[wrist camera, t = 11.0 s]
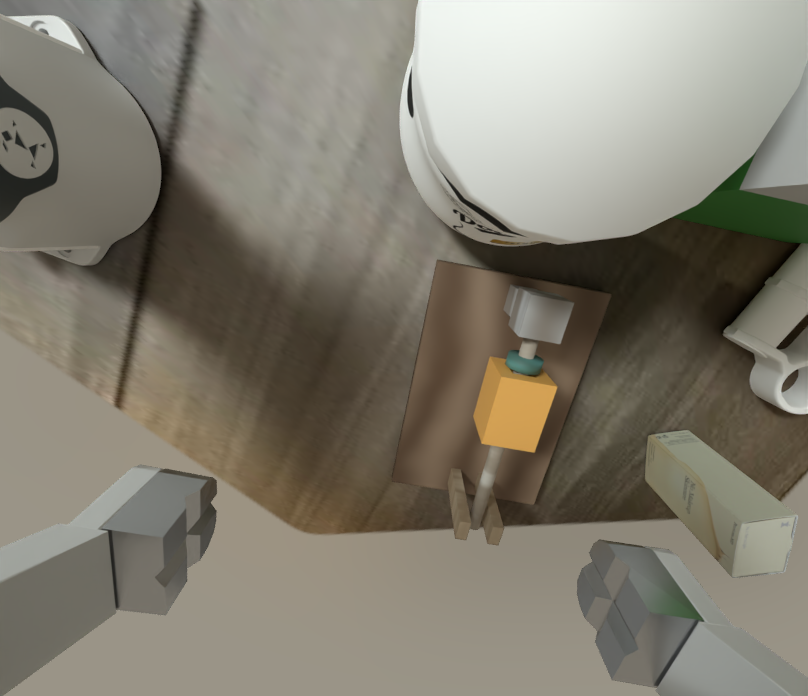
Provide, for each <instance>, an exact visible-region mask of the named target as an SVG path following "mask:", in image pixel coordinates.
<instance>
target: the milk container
mask: <svg viewBox="0 0 808 696" xmlns="http://www.w3.org/2000/svg"><path fill="white" fill-rule="evenodd" d="M807 61H808V0H418V5H417V9H416V23H415V43H414V49H413V53H412V56H411V58H410V61H409V64H408V68H407V71H406V75H405V79H404V84H403V88H402V95H401V102H400V137H401V143H402V149H403V154H404V158H405V162H406V165H407V168H408V171H409V174H410V176H411V179H412V181H413V183H414V185H415V187H416V189H417V191H418V192H419V194H420V196H421V197H422V199H423V200H424V201H425V203H426V204H427V205H428V207H429V208H430V209H431V210H432V211H433V212H434V214H435V215H436V216H437V217H439V218H440V219H441V220H442V221H443V222H444V223H446V224H447V225H448V226H449V227H451V228H452V229H454V230H456V231H457V232H459V233H461V234H463V235H465V236H467V237H469V238H471V239H474V240H476V241H479V242H483V243H486V244H491V245H497V246H526V245H533V244H539V243H542V242H548V243H553V244H557V245H561V244H571V243H579V242H587V241H594V240H602V239H610V238H618V237H626V236H631V235H635V234H638V233H640V232H642V231H644V230H646V229H648V228H650V227H652V226H654V225H657V224H659V223H661V222H663V221H665V220H667V219H669V218H671V217H673V216H675V215H677V214H679V213H681V212H684V211H686V210H688V209H690V208H692V207H694V206H696V205H698V204H699V203H700V202H701V201H703V200H704V199H705V198H706V197H707V196H708V195H709V194H710V193H711V192H713V191H714V190H715V189H716V188H717V187H718V186H719V185H720V184H722V183H723V182H724V181H725V180H726V179H727V178H728V177H729V176H730V175H732V174H733V173H734V172H735V171H736V170H737V169H738V168H739V167H741V166H742V165H743V164H744V163H745V162H746V161H747V160H748V159H749V158H751V157H752V156H753V155H754V153H755V152H756V150H757V149H758V147H759V146H760V144H761V143H762V141H763V140H764V138H765V137H766V135H767V134H768V132H769V131H770V129H771V128H772V126H773V125H774V123H775V122H776V120H777V119H778V117H779V116H780V114H781V112H782V111H783V109H784V108H785V106H786V105H787V103H788V102H789V100H790V99H791V97H792V96H793V94H794V93H795V91H796V90H797V88H798V87H799V84H800V81H801V78H802V75H803V73H804V70H805V67H806V64H807Z"/></svg>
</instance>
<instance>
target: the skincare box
mask: <svg viewBox="0 0 808 696" xmlns="http://www.w3.org/2000/svg"><path fill="white" fill-rule="evenodd" d="M645 481H646V482H647V483H648V484H649V485H650V486H651V488H652V489H653V490H654V491H655V492H656V493H657V494H658V495H659V496H660V498H661V499H662V500H663V501H664V502H665V503H666V504H667V505H668V507H669V508H670V509H671V510H672V511H673V512H674V513H675V514H676V516H677V517H678V518H679V519H680V520H681V521H682V522H683V523H684V524H685V526H686V527H688V529H689V530H690V531H691V532H692V533H693V534H694V535H695V537H696V538H697V539H698V540H699V541H700V542H701V543H702V544H703V546H704V547H705V548H706V549H707V550H708V551H709V552H710V553H711V554H712V556H713V557H714V558H715V559H716V560H717V561H718V562H719V563H720V565H721V566H722V567H723V568H724V569H725V570H726V571H727V572H728V574H729V575H730V576H731V577H733V578H738V577H748V576H758V575H767V574H777V573H783V572H785V570H786V566H787V562H788V558H789V554H790V551H791V547H792V542H793V537H794V533H795V529H796V524H797V520H798V515H796V514H795V513H794V512H793V511H792V510H790V509H789V508H788V507H786V506H785V505H784V504H783V503H781V502H780V501H779V500H777V499H776V498H775V497H773V496H772V495H771V494H770V493H768V492H767V491H766V490H764V489H763V488H762V487H760V486H759V485H758V484H757V483H755V482H754V481H753V480H752V479H750V478H749V477H748V476H746V475H745V474H744V473H743V472H741V471H740V470H739V469H737V468H736V467H735V466H734V465H732V464H731V463H730V462H728V461H727V460H726V459H724V458H723V457H722V456H721V455H719V454H718V453H717V452H715V451H714V450H713V449H712V448H710V447H709V446H708V445H706V444H705V443H704V442H703V441H701V440H700V439H699V438H697V437H696V436H695V435H694V434H692V433H691V432H690V431H688V430H683V431H675V432H667V433H660V434H654V435H649V436H648V442H647V452H646V466H645Z"/></svg>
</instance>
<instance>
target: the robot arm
mask: <svg viewBox="0 0 808 696" xmlns="http://www.w3.org/2000/svg"><path fill="white" fill-rule="evenodd" d="M48 33H49V35H47V34H48ZM160 185H161V162H160V155H159V150H158V146H157V142H156V139H155V136H154V134H153V131H152V129H151V126H150V124H149V122H148V120H147V118H146V116H145V114H144V113H143V111H142V109H141V108H140V106H139V105H138V104H137V102H136V101H135V99H134V98H133V97H132V96H131V94H130V93H129V92H128V91H127V90H126V89H125V88H124V87H123V86H122V85H121V84H120V83H119V82H118V81H117V80H116V79H115V78H114V77H113V76H112V75H111V74H109V73H108V72H107V71H106V70H105V69H104V68H103V67H102V66H101V64H100V63H99V62H98V61H97V59H96V57H95V55H94V54H93V52H92V50H91V48H90V47H89V45H88V43H87V41H86V40H85V38H84V37H83V35H82V34H81V32H80V31H79V30H78V29H77V27H76V26H75V25H74V24H72V23H71V22H69V21H67V20H64V19H62V18H60V17H57V16H52V15H45V16H9V17H6V16H4V15H2V14H0V251H5V252H24V251H42V252H45V253H47V254H50V255H53V256H56V257H58V258H61V259H64V260H66V261H69V262H72V263H74V264H77V265H83V266H85V265H95V264H97V263H98V262H99V261H100V260H101V259H102V258H103V257H104V255H105V254H106V252H107V251H108V249H109V248H110V246H111V245H112V244H113V243H114V242H116V241H118V240H119V239H122V238H124V237H126V236H128V235H129V234H131V233H133V232H134V231H136V230H137V229H138V228H139V227H140V226H141V225H142V224H143V223H144V222H145V221H146V220H147V219H148V217H149V216H150V214H151V213H152V211H153V209H154V207H155V204H156V202H157V199H158V196H159V191H160ZM216 483H217V482H216V480H215V479H214V478H213V477H207V476H202V475H196V474H191V473H186V472H180V471H175V470H170V469H161V468H156V467H151V466H145V465H138V466H135V467H133V468H131V469H130V470H129V471H128V472H127V473H125V474H124V475H123V476H122V477H121V478H120V479H119V480H118V481H116V482H115V483H114V484H113V485H112V486H111V487H110V488H109V489H107V490H106V491H105V492H104V493H103V494H102V495H101V496H100V497H98V498H97V499H96V500H95V501H94V502H93V503H92V504H91V505H89V506H88V507H87V508H86V509H85V510H84V511H83V512H82V513H80V514H79V515H78V516H77V517H76V518H75V519H74V520H73V521H71V522H70V523H69V524H68V525H65V524H57V525H54V526H52V527H49V528H47V529H45V530H42V531H40V532H37V533H35V534H32V535H30V536H28V537H25V538H23V539H20V540H18V541H15V542H13V543H11V544H8V545H6V546H3V547H1V548H0V696H3V695H4V694H6V693H7V692H8V691H10V690H11V689H13V688H14V687H15V686H17V685H18V684H19V683H21V682H22V681H23V680H25V679H26V678H28V677H29V676H30V675H32V674H33V673H34V672H36V671H37V670H39V669H40V668H41V667H43V666H44V665H46V664H47V663H48V662H50V661H51V660H52V659H54V658H55V657H56V656H58V655H59V654H61V653H62V652H63V651H65V650H66V649H67V648H69V647H70V646H72V645H73V644H74V643H76V642H77V641H78V640H80V639H81V638H83V637H84V636H85V635H87V634H88V633H89V632H91V631H92V630H93V629H95V628H96V627H98V626H99V625H100V624H102V623H103V622H104V621H106V620H107V619H109V618H110V617H111V616H112V615H114V614H115V613H116V610H123V611H132V612H141V613H149V614H158V615H166V614H167V613H168V611H169V609H170V608H171V606H172V604H173V603H174V601H175V600H176V598H177V596H178V595H179V593H180V592H181V590H182V588H183V587H184V585H185V584H186V582H187V568H188V567H190V566H192V565H193V564H195V563H196V562H198V561H200V559H201V558H202V556H203V554H204V553H205V551H206V549H207V547H208V545H209V543H210V540H211V538H212V535H213V532H214V528H215V523H216V510H215V508H214V507H213V506H212V504H211V501H212V500H213V498H214V497H215V495H216V494H217V484H216ZM589 553H590V556H591V559H592V561H593V562H591V563H590V564H588V565H587V566H585V567H584V568H582V570H581V573H580V575H579V578H578V582H577V595H578V600H579V604H580V607H581V610H582V612H583V614H584V617H585V619H586V620H587V621H588V622H589V623H590V624H591V625H592V626H593V627H594V628H595V629H596V630H597V636H596V640H595V642H596V645H597V647H598V649H599V652H600V654H601V656H602V659H603V661H604V663H605V665H606V667H607V670H608V672H609V674H610V677H611V679H612V680H615V681H620V682H626V683H632V684H637V685H643V686H648V687H654V688H657V689H656V692H657V693H658V694H659V695H660V696H808V677H806V676H805V675H804V674H802V673H801V672H800V671H798V670H797V669H796V668H794V667H793V666H792V665H790V664H789V663H788V662H786V661H785V660H784V659H782V658H781V657H780V656H778V655H777V654H776V653H774V652H773V651H771V650H770V649H769V648H767V647H766V646H765V645H763V644H762V643H761V642H760V641H758V640H757V639H755V638H754V637H753V636H751V635H750V634H749V633H747V632H746V631H745V630H743V629H742V628H737V627H734V626H733V625H732V624H731V623H730V621H729V620H728V619H727V618H726V616H725V615H724V614H723V613H722V611H721V610H720V609H719V608H718V606H717V605H716V604H715V602H714V601H713V600H712V599H711V598H710V596H709V595H708V594H707V592H706V591H705V590H704V589H703V587H702V586H701V585H700V584H699V582H698V581H697V580H696V579H695V577H694V576H693V575H692V573H691V572H690V571H689V570H688V568H687V567H686V566H685V565H684V563H683V562H682V561H681V560H680V558H679V557H678V556H677V555H676V554H674V553H673V552H672V551H670V550H668V549H661V548H654V547H647V546H645V547H643V546H638V545H632V544H625V543H619V542H611V541H605V540H598V541H597V542H595V543H594V544H593V546H592V548H591V550H590V552H589Z"/></svg>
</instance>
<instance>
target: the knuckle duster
mask: <svg viewBox="0 0 808 696" xmlns="http://www.w3.org/2000/svg"><path fill="white" fill-rule="evenodd" d="M806 315H808V244H805V243H801V244H800V245H799V247H798V248H797V249H796V250H795V251H794V252H793V253H792V255H791V256H790V257H789V258H788V259H787V260H786V262H785V263H784V264H783V265H782V266H781V267H780V269H779V270H778V271H777V272H776V273H775V274H774V275H773V277H770V278H768V280H767V281H766V282H765V286H764V287H763V288H762V289H761V290H760V292H759V293H758V294H757V295H756V296H755V297H754V299H753V300H752V301H751V302H750V303H749V304H748V306H747V307H746V308H745V309H744V310H743V311H742V312H741V314H740V315H739V316H738V317H737V318H736V319H735V321H734V322H733V323H732V324H731V325H730V326H727V327H726V328H725V330H724V331H723V332H724V333H723V336H724V337H726V338H728V339H729V340H731V341H733V342H734V343H736V344H738V345H739V346H741V347H743V348H745V349H747V350H748V351H750V352H752V353H754V356H755V361H756V363H755V365H754V367H753V369H752V371H751V374H750V386H751V389H752V391H753V392H754V394H755V395H757V396H758V397H759V398H761V399H763V400H765V401H767V402H769V403H771V404H773V405H775V406H777V407H779V408H780V409H782V410H784V411H787V412H789V413H793V414H808V326H807V327H806V328H805V329H804V330H803V331H802V332H801V333H800V335H799V336H798V337H797V338H796V339H795V340H794V341H793V342H792V343H791V344H790V345H789V346H788V347H787V348H785V349H780V350H778V349H776V347H777V346H778V345H779V344H780V343H781V342H782V341H783V339H784V338H785V337H786V336H787V335H788V334H789V333H790V332H791V331H792V330H793V329H794V328H795V326H796V325H797V324H798V323H799V322H800V321H801V320H802V319H803V318H804V317H805V316H806ZM797 369H798V372H799V374H798V378H797V380H796V382H795V383H794V385H793V386H792V387H791V388H789V389H788V390H786V391H785V392H782V393H781V388H782V385H783V382H784V381H785V379H786V378H787V377H788V376H789V375H790V374H791V373H792V372H794V371H795V370H797Z"/></svg>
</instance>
